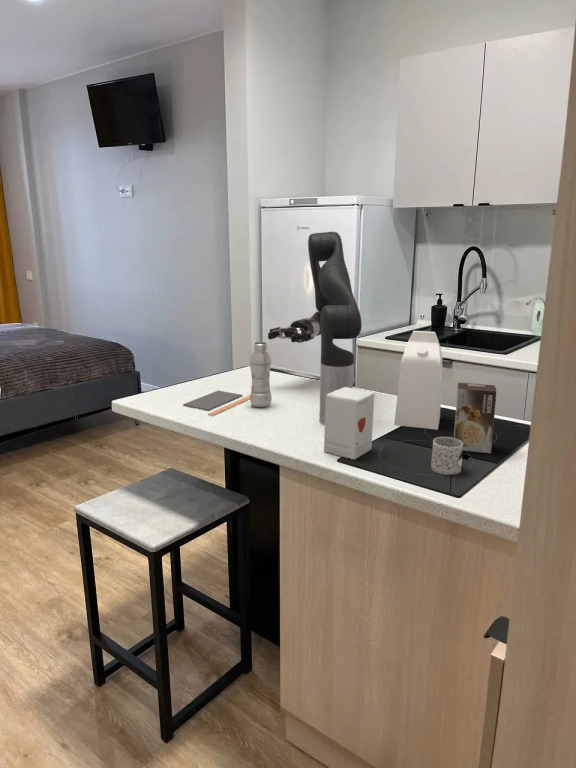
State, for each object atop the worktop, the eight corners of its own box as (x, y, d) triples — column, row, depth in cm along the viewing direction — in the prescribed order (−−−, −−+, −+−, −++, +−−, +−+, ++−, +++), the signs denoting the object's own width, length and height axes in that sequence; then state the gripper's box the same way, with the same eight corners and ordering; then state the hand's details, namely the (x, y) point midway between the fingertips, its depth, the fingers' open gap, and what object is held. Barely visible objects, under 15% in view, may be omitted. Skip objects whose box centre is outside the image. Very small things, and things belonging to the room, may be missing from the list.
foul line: (257, 395, 183) (257, 394, 183) (213, 416, 163) (213, 415, 163) (252, 394, 184) (252, 394, 184) (207, 414, 164) (207, 413, 164)
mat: (242, 396, 183) (242, 394, 182) (208, 411, 168) (208, 409, 167) (218, 391, 187) (218, 390, 187) (183, 405, 172) (183, 404, 172)
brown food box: (489, 445, 142) (496, 384, 138) (491, 454, 136) (498, 391, 132) (452, 441, 145) (458, 381, 141) (452, 449, 139) (457, 388, 135)
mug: (464, 475, 125) (467, 447, 123) (435, 475, 125) (437, 447, 123) (451, 457, 134) (453, 431, 133) (424, 457, 134) (426, 431, 133)
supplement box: (354, 460, 132) (357, 400, 128) (323, 452, 137) (324, 394, 133) (372, 449, 139) (375, 392, 135) (342, 441, 144) (344, 385, 140)
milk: (440, 416, 164) (447, 329, 157) (437, 429, 153) (445, 336, 146) (398, 412, 167) (404, 327, 160) (394, 424, 157) (399, 334, 150)
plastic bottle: (271, 409, 169) (271, 345, 164) (249, 409, 169) (248, 345, 164) (272, 403, 175) (272, 341, 170) (250, 403, 175) (250, 340, 170)
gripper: (286, 317, 193) (261, 323, 179) (323, 320, 186) (300, 328, 172) (286, 338, 195) (261, 346, 181) (322, 342, 188) (299, 351, 175)
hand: (280, 337), depth 177 cm, fingers open, 8 cm apart
